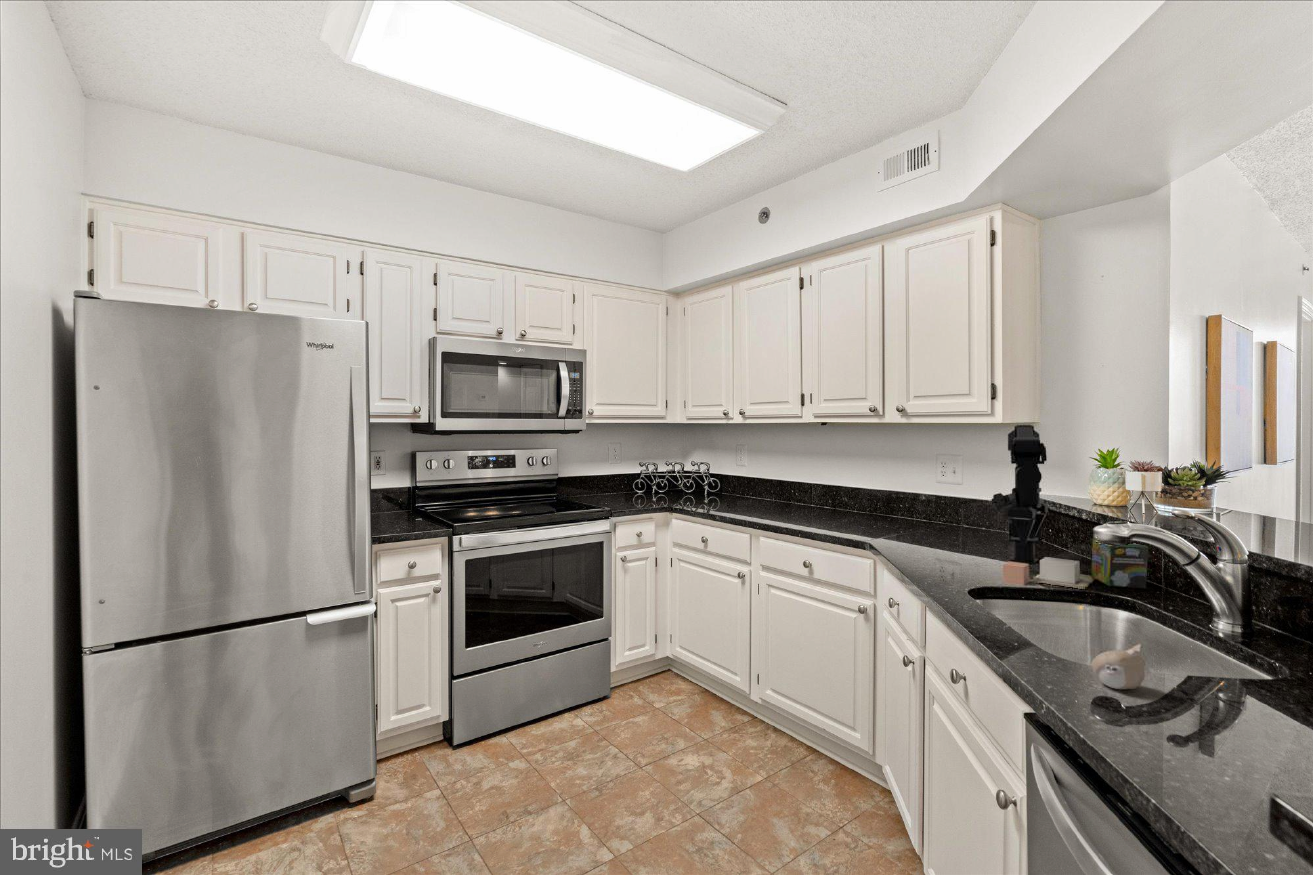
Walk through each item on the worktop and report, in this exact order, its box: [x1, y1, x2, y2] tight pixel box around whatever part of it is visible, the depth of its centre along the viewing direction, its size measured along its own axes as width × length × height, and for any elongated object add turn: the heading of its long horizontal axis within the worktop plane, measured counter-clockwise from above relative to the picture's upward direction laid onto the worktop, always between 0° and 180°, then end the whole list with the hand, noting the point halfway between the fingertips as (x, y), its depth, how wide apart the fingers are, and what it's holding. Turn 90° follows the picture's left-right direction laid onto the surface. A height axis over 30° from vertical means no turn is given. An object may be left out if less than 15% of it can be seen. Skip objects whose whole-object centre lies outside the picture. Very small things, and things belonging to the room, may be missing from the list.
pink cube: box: [1002, 560, 1030, 586], centre depth 165 cm, size 5×5×5 cm
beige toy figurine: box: [1091, 643, 1146, 690], centre depth 99 cm, size 7×6×8 cm
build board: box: [1030, 573, 1096, 590], centre depth 165 cm, size 16×12×1 cm
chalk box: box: [1090, 537, 1149, 589], centre depth 160 cm, size 9×9×15 cm
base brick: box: [1039, 556, 1081, 584], centre depth 164 cm, size 8×6×5 cm
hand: (1027, 540), depth 164 cm, fingers open, 9 cm apart
